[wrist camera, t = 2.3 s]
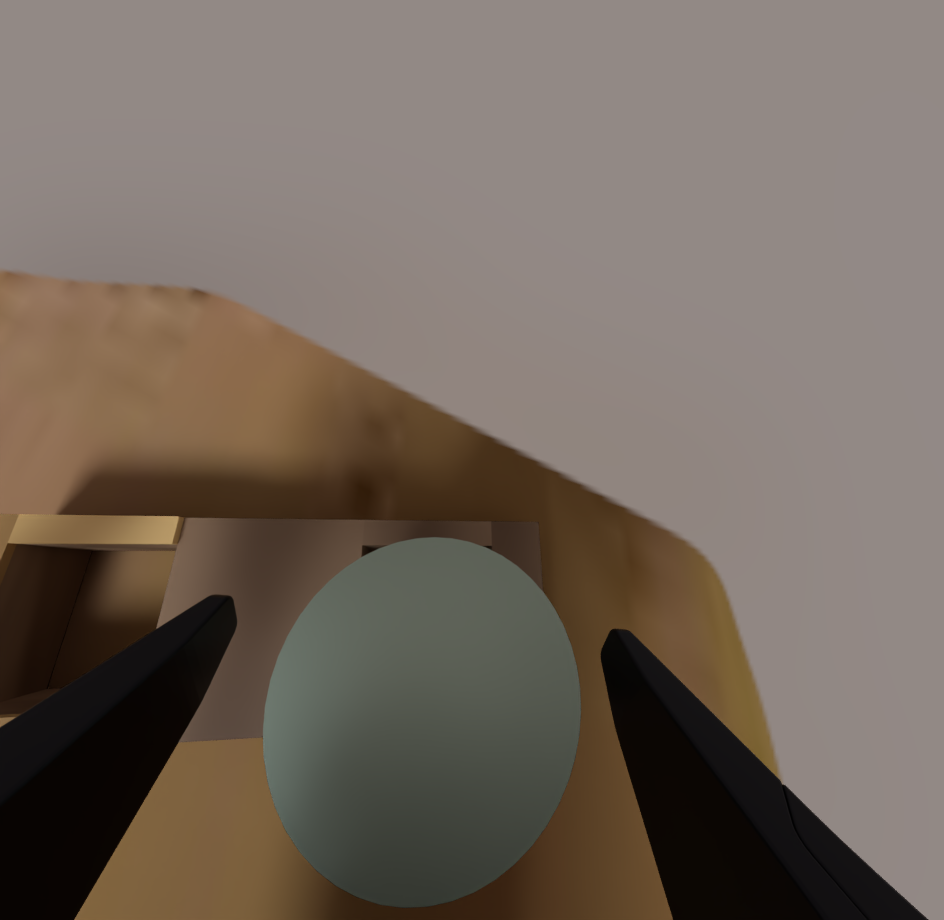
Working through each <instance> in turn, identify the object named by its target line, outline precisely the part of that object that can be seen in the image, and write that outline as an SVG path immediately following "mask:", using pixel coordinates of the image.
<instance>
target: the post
mask: <svg viewBox="0 0 944 920" xmlns="http://www.w3.org/2000/svg"><path fill="white" fill-rule="evenodd" d="M580 718H581V699H580V684H579V678H578V671H577V665H576V661H575V657H574V654H573V650H572V646H571V643H570V641H569V638H568V636H567V633H566V630H565V628H564V625H563V624H562V622H561V620H560V618H559V616H558V614H557V612H556V610H555V608H554V607H553V605H552V604H551V602H550V601H549V600H548V598H547V597H546V595H545V594H544V592H543V591H542V590H541V589H540V588H539V587H538V585H537V584H536V583H535V582H534V581H533V580H532V579H531V578H530V577H529V576H528V575H527V574H526V573H525V572H524V571H522V570H521V569H520V568H519V567H518V566H517V565H515V564H514V563H512V562H511V561H509V560H508V559H506V558H505V557H503V556H502V555H500V554H498V553H496V552H494V551H492V550H490V549H488V548H486V547H483V546H480V545H477V544H474V543H471V542H468V541H463V540H458V539H453V538H439V537H430V538H416V539H411V540H406V541H401V542H397V543H394V544H391V545H388V546H385V547H382V548H379V549H377V550H375V551H373V552H371V553H369V554H367V555H365V556H363V557H361V558H359V559H358V560H356V561H355V562H353V563H352V564H350V565H349V566H347V567H345V568H344V569H343V570H342V571H341V572H339V573H338V574H337V575H336V576H334V577H333V578H332V579H331V580H330V581H329V582H328V583H327V584H326V585H325V586H324V587H323V588H322V589H321V590H320V591H319V592H318V593H317V594H316V595H315V596H314V597H313V599H312V600H311V601H310V602H309V604H308V605H307V606H306V608H305V609H304V610H303V612H302V613H301V614H300V616H299V617H298V619H297V621H296V622H295V624H294V626H293V627H292V629H291V631H290V632H289V634H288V636H287V638H286V640H285V643H284V645H283V647H282V649H281V651H280V654H279V656H278V658H277V661H276V665H275V668H274V671H273V674H272V677H271V680H270V684H269V689H268V694H267V699H266V704H265V713H264V724H263V750H264V762H265V768H266V774H267V781H268V785H269V788H270V792H271V795H272V798H273V802H274V805H275V808H276V810H277V813H278V815H279V817H280V819H281V821H282V824H283V826H284V828H285V830H286V832H287V833H288V835H289V836H290V838H291V840H292V841H293V843H294V844H295V846H296V847H297V849H298V850H299V852H300V853H301V854H302V855H303V856H304V857H305V859H306V860H307V861H308V862H309V863H310V864H311V865H312V866H313V867H314V868H315V870H316V871H318V872H319V873H320V874H321V875H323V876H324V877H325V878H326V879H328V880H329V881H330V882H331V883H333V884H334V885H335V886H337V887H339V888H341V889H343V890H344V891H346V892H348V893H350V894H352V895H354V896H356V897H358V898H361V899H364V900H367V901H370V902H373V903H376V904H379V905H386V906H393V907H401V908H412V907H429V906H433V905H438V904H443V903H447V902H451V901H454V900H456V899H459V898H461V897H464V896H466V895H469V894H471V893H474V892H476V891H477V890H479V889H481V888H482V887H484V886H486V885H487V884H489V883H491V882H493V881H494V880H496V879H497V878H498V877H499V876H501V875H502V874H503V873H504V872H506V871H507V870H508V869H509V868H511V867H512V866H513V865H514V864H515V863H516V862H517V861H518V860H519V859H520V858H521V857H522V856H523V855H524V854H525V853H526V852H527V851H528V850H529V849H530V848H531V847H532V845H533V844H534V843H535V841H536V840H537V838H538V837H539V836H540V834H541V833H542V832H543V830H544V829H545V827H546V826H547V824H548V823H549V821H550V819H551V817H552V815H553V814H554V812H555V810H556V808H557V807H558V805H559V803H560V800H561V798H562V795H563V793H564V791H565V788H566V786H567V783H568V781H569V778H570V774H571V771H572V767H573V764H574V760H575V757H576V751H577V745H578V739H579V734H580Z"/></svg>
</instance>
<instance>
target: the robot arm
mask: <svg viewBox="0 0 944 920" xmlns="http://www.w3.org/2000/svg"><path fill="white" fill-rule="evenodd" d="M236 627H237V615H236V610H235V604H234V600H233V598H232V597H231V596H229V595H219V594H213V595H210V596H208V597H206V598H205V599H203V600H201V601H200V602H198V603H197V604H195V605H193V606H192V607H190V608H189V609H187V610H185V611H184V612H182V613H181V614H179V615H178V616H176V617H174V618H173V619H171V620H170V621H168V622H166V623H165V624H163V625H162V626H160V627H158V628H157V629H155V630H154V631H152V632H150V633H149V634H147V635H146V636H144V637H143V638H141V639H139V640H138V641H136V642H135V643H133V644H131V645H130V646H128V647H127V648H125V649H123V650H122V651H120V652H119V653H117V654H116V655H114V656H112V657H111V658H109V659H108V660H106V661H104V662H103V663H101V664H100V665H98V666H96V667H95V668H93V669H92V670H90V671H89V672H87V673H85V674H84V675H82V676H81V677H79V678H77V679H76V680H74V681H73V682H71V683H69V684H68V685H66V686H65V687H63V688H62V689H60V690H58V691H57V692H55V693H54V694H52V695H50V696H49V697H47V698H46V699H44V700H42V701H41V702H39V703H38V704H36V705H34V706H33V707H31V708H30V709H28V710H27V711H25V712H23V713H22V714H20V715H19V716H17V717H15V718H14V719H12V720H11V721H9V722H7V723H6V724H4V725H3V726H1V727H0V920H74V919H75V917H76V916H77V914H78V912H79V911H80V909H81V907H82V905H83V904H84V902H85V900H86V899H87V897H88V895H89V894H90V892H91V890H92V888H93V887H94V885H95V883H96V882H97V880H98V878H99V877H100V875H101V873H102V871H103V870H104V868H105V866H106V865H107V863H108V861H109V860H110V858H111V856H112V854H113V853H114V851H115V849H116V848H117V846H118V844H119V843H120V841H121V839H122V837H123V836H124V834H125V832H126V831H127V829H128V827H129V826H130V824H131V822H132V820H133V819H134V817H135V815H136V814H137V812H138V810H139V809H140V807H141V805H142V803H143V802H144V800H145V798H146V797H147V795H148V793H149V792H150V790H151V788H152V786H153V785H154V783H155V781H156V780H157V778H158V776H159V775H160V773H161V771H162V769H163V768H164V766H165V764H166V763H167V761H168V759H169V758H170V756H171V754H172V752H173V751H174V749H175V747H176V746H177V744H178V742H179V741H180V739H181V737H182V735H183V734H184V732H185V730H186V729H187V727H188V725H189V724H190V722H191V720H192V718H193V717H194V715H195V713H196V711H197V710H198V708H199V706H200V704H201V702H202V700H203V698H204V696H205V694H206V692H207V690H208V688H209V686H210V684H211V682H212V680H213V677H214V675H215V673H216V671H217V669H218V667H219V665H220V663H221V660H222V658H223V656H224V654H225V652H226V650H227V648H228V646H229V643H230V641H231V639H232V637H233V635H234V633H235V631H236ZM601 662H602V667H603V672H604V677H605V682H606V686H607V691H608V696H609V701H610V706H611V711H612V715H613V720H614V724H615V728H616V732H617V736H618V739H619V742H620V746H621V749H622V752H623V756H624V759H625V762H626V766H627V769H628V772H629V775H630V779H631V782H632V785H633V789H634V792H635V795H636V799H637V802H638V805H639V808H640V812H641V815H642V818H643V822H644V825H645V828H646V832H647V835H648V838H649V841H650V845H651V848H652V851H653V855H654V858H655V861H656V865H657V868H658V871H659V874H660V878H661V881H662V884H663V888H664V891H665V894H666V898H667V901H668V904H669V907H670V911H671V914H672V917H673V920H928V919H927V918H926V917H925V916H924V915H923V914H921V913H920V912H919V911H918V910H917V909H916V908H915V907H914V906H913V905H911V904H910V903H909V902H908V901H907V900H906V899H905V898H904V897H903V896H901V895H900V894H899V893H898V892H897V891H896V890H895V889H894V888H893V887H892V886H890V885H889V884H888V883H887V882H886V881H885V880H884V879H883V878H882V877H880V875H878V874H877V873H876V872H875V871H874V870H873V869H872V868H871V867H870V866H869V865H868V864H867V863H866V862H864V861H863V860H862V859H861V858H860V857H859V856H858V855H857V854H856V853H855V852H853V851H852V850H851V849H850V848H849V847H848V846H847V845H846V844H845V843H844V842H843V841H842V840H841V839H840V838H839V837H837V835H836V834H834V833H833V832H832V831H831V830H830V829H829V828H828V827H827V826H826V825H825V824H824V823H823V822H822V821H821V820H820V819H819V818H818V817H817V816H816V815H815V814H814V813H813V812H812V811H811V810H810V809H809V808H808V807H807V806H806V805H805V804H804V803H803V802H802V801H801V800H800V799H799V798H798V797H796V795H794V793H793V792H792V791H791V790H790V789H789V788H788V787H787V786H785V785H782V783H781V781H780V780H779V779H778V778H777V777H776V776H775V775H774V774H773V773H772V772H771V771H770V770H769V769H768V768H767V767H766V766H765V765H764V764H763V763H762V762H761V761H760V760H759V759H758V758H757V757H756V756H755V755H754V754H753V753H752V752H751V751H750V750H749V749H748V748H747V747H746V746H745V745H744V744H743V743H742V742H741V741H740V740H739V739H738V738H737V737H736V736H735V735H734V734H733V733H732V732H731V731H730V730H729V729H728V728H727V727H726V726H725V725H724V724H723V723H722V722H721V721H720V720H719V719H718V718H717V717H716V716H715V715H714V714H713V713H712V712H711V711H710V710H709V709H708V708H707V707H706V706H705V705H704V704H703V703H702V702H701V701H700V700H699V699H698V698H697V697H696V696H695V695H694V694H693V693H692V692H691V691H690V690H689V689H688V688H687V687H686V686H685V685H684V684H683V683H682V682H681V681H680V680H679V679H678V678H677V677H676V676H675V675H674V674H673V673H672V672H671V671H670V670H669V669H668V668H667V667H666V666H665V665H664V664H663V663H662V662H661V661H660V660H659V659H658V658H657V657H656V656H655V655H654V654H653V653H652V652H651V651H650V650H649V649H648V648H646V647H645V646H644V645H643V644H642V643H641V642H640V641H639V640H638V639H637V638H636V637H635V636H634V635H633V634H632V633H631V632H630V631H628V630H625V629H612V630H611V631H610V632H609V634H608V636H607V639H606V641H605V643H604V645H603V647H602V650H601Z"/></svg>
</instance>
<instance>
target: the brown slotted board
mask: <svg viewBox="0 0 944 920" xmlns="http://www.w3.org/2000/svg"><path fill="white" fill-rule="evenodd" d="M430 537H439V538H453V539H458V540H463V541H468V542H471V543H474V544H477V545H480V546H483V547H486V548H488V549H490V550H492V551H494V552H496V553H498V554H500V555H502V556H503V557H505V558H506V559H508V560H509V561H511V562H512V563H514V564H515V565H517V566H518V567H519V568H520V569H521V570H522V571H524V572H525V573H526V574H527V575H528V576H529V577H530V578H531V579H532V580H533V581H534V582H535V583H536V584H537V585H538V587H539V588H540V589H541V590H542V591H543V582H542V567H541V553H540V538H539V523H538V522H502V521H419V520H336V519H253V518H184V517H180V516H111V515H30V514H0V727H1V726H3V725H4V724H6V723H7V722H9V721H11V720H12V719H14V718H15V717H17V716H19V715H20V714H22V713H23V712H25V711H27V710H28V709H30V708H31V707H33V706H34V705H36V704H38V703H39V702H41V701H42V700H44V699H46V698H47V697H49V696H50V695H52V694H54V693H55V692H57V691H58V690H60V689H62V688H56V689H47V686H48V683H49V680H50V677H51V674H52V671H53V668H54V665H55V662H56V658H57V655H58V652H59V649H60V646H61V643H62V640H63V637H64V634H65V631H66V628H67V625H68V622H69V619H70V616H71V613H72V610H73V606H74V603H75V600H76V597H77V594H78V591H79V588H80V585H81V582H82V579H83V576H84V573H85V570H86V567H87V564H88V561H89V558H90V555H91V551H176V552H175V556H174V560H173V564H172V568H171V572H170V576H169V580H168V584H167V588H166V592H165V596H164V600H163V604H162V608H161V612H160V616H159V620H158V624H157V628H158V627H160V626H162V625H163V624H165V623H166V622H168V621H170V620H171V619H173V618H174V617H176V616H178V615H179V614H181V613H182V612H184V611H185V610H187V609H189V608H190V607H192V606H193V605H195V604H197V603H198V602H200V601H201V600H203V599H205V598H206V597H208V596H210V595H213V594H219V595H229V596H231V597H232V598H233V600H234V604H235V610H236V615H237V627H236V631H235V633H234V635H233V637H232V639H231V641H230V643H229V646H228V648H227V650H226V652H225V654H224V656H223V658H222V660H221V663H220V665H219V667H218V669H217V671H216V673H215V675H214V677H213V680H212V682H211V684H210V686H209V688H208V690H207V692H206V694H205V696H204V698H203V700H202V702H201V704H200V706H199V708H198V710H197V711H196V713H195V715H194V717H193V718H192V720H191V722H190V724H189V725H188V727H187V729H186V730H185V732H184V734H183V735H182V737H181V739H180V741H179V742H192V741H209V740H226V739H243V738H259V737H263V724H264V713H265V704H266V699H267V694H268V689H269V684H270V680H271V677H272V674H273V671H274V668H275V665H276V661H277V658H278V656H279V654H280V651H281V649H282V647H283V645H284V643H285V640H286V638H287V636H288V634H289V632H290V631H291V629H292V627H293V626H294V624H295V622H296V621H297V619H298V617H299V616H300V614H301V613H302V612H303V610H304V609H305V608H306V606H307V605H308V604H309V602H310V601H311V600H312V599H313V597H314V596H315V595H316V594H317V593H318V592H319V591H320V590H321V589H322V588H323V587H324V586H325V585H326V584H327V583H328V582H329V581H330V580H331V579H332V578H333V577H334V576H336V575H337V574H338V573H339V572H341V571H342V570H343V569H344V568H345V567H347V566H349V565H350V564H352V563H353V562H355V561H356V560H358V559H359V558H361V557H363V556H365V555H367V554H369V553H371V552H373V551H375V550H377V549H379V548H382V547H385V546H388V545H391V544H394V543H397V542H401V541H406V540H411V539H416V538H430ZM157 628H156V629H157Z"/></svg>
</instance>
